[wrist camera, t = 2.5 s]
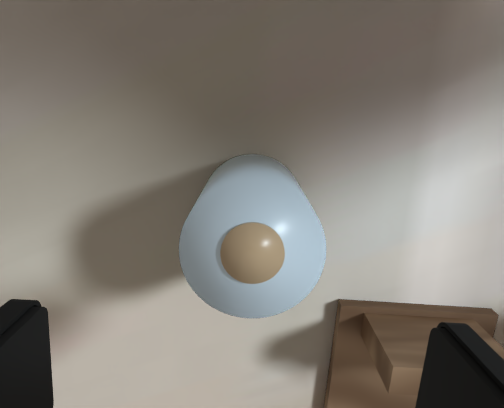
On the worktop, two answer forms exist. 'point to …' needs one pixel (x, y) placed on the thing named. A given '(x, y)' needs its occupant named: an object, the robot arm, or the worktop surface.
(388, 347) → the cradle
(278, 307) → the pale blue rounded cylinder
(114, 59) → the worktop surface
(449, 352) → the robot arm
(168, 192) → the worktop surface
